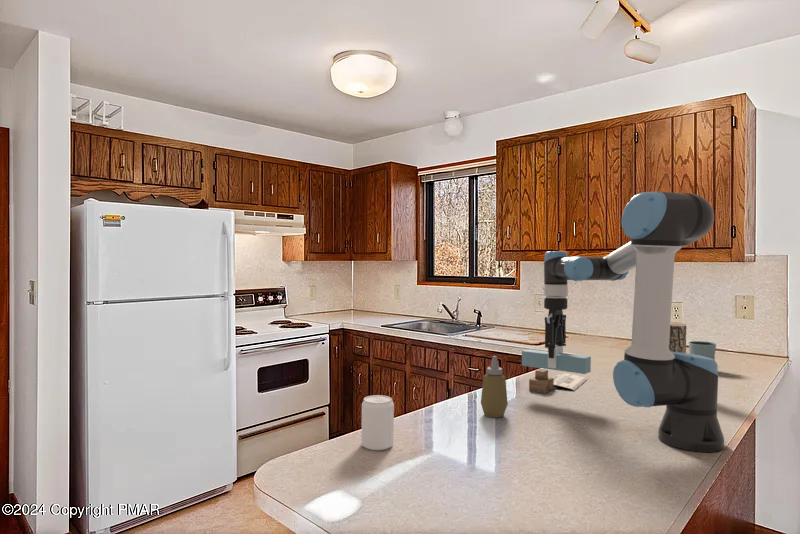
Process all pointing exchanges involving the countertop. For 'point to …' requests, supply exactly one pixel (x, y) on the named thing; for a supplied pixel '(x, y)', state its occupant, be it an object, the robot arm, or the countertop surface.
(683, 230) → the robot arm
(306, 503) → the countertop surface
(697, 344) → the grey green cup
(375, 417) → the beverage can
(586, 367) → the bar
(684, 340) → the bark covered log
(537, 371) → the fulcrum
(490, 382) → the squeeze bottle
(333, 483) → the countertop surface
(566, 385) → the newspaper
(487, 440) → the countertop surface
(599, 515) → the countertop surface
